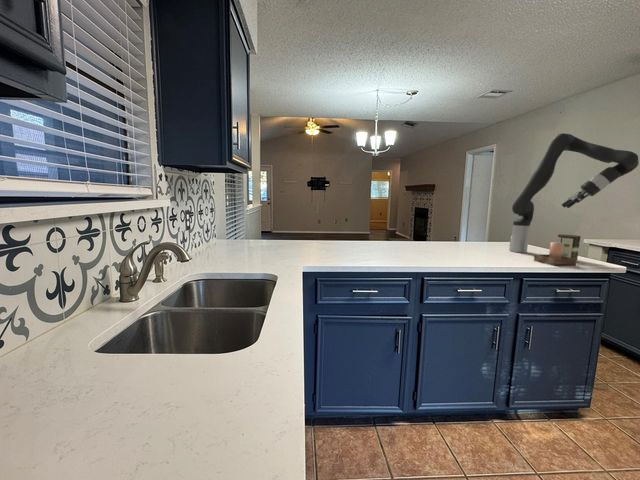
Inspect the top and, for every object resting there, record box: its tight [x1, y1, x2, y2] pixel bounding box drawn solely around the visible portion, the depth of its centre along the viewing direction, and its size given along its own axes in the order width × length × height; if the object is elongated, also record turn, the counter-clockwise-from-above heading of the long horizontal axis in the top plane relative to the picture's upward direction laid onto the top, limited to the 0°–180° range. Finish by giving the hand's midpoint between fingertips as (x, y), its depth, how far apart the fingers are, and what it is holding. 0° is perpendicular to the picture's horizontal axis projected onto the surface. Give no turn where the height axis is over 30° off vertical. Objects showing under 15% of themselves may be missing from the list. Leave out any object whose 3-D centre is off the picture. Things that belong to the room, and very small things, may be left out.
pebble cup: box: [548, 241, 563, 259], centre depth 171 cm, size 6×6×10 cm
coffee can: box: [556, 234, 582, 262], centre depth 181 cm, size 10×10×14 cm
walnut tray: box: [533, 253, 578, 267], centre depth 172 cm, size 13×13×4 cm
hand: (564, 206), depth 171 cm, fingers open, 8 cm apart
